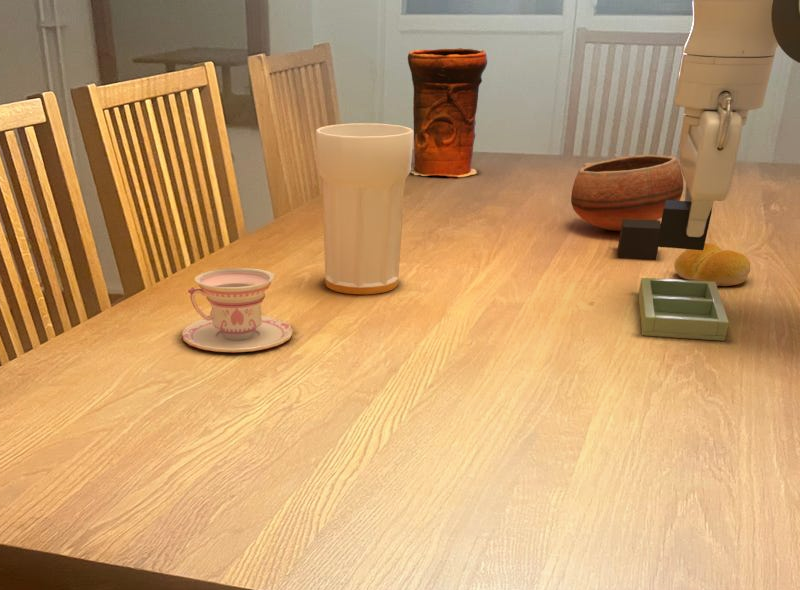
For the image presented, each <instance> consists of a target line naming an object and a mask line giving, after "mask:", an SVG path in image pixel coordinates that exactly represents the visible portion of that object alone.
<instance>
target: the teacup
mask: <svg viewBox="0 0 800 590" xmlns="http://www.w3.org/2000/svg"><path fill="white" fill-rule="evenodd" d="M273 280H275V274H274V273H273V272H271V271H269V270H265V269H261V268H251V267H227V268H220V269H213V270H209V271H205V272H202V273H200V274H198V275H196V276H195V278H194V282H195V283H196V284H197V285H198V287H199V288H195V287H191V288H190V289H188V290H187V292H188V294H190V297H189V298H190V301H191V304H192V306H193V307H194V310H195V311H196V312H197V313H198V314H199V315H200V316H201V318H203V319H200V320H196V321H194V322H193V323H190V324H188V325H187V326H186V327H185V328H184V329H183V330H182V332H181V334H182V335H181V336H182V340H183V341H184V342H185V343H186V344H188V345H189V346H191V347H194V348H197V349H200V350H205V351H211V352H215V353H216V352H217V353H246V352H256V351H261V350H267V349H271V348H274V347H277V346H280V345H282V344H284V343H286V342H287V341H289V340H291V337H292V335H293V334H294V331H293V328H292V326H291V325H290V324H289V323H287V322H286V321H284V320H282V319H278V318H275V317H272V316H267V315H262V304H263V301H264V299H265V298H266V294H265V292H267V290H268V289H269V288H270V286H271V284H272V281H273ZM198 294H199V295H202V296H204V297H206V300H207V301H208V303H209V304H210V307H211V309H210V313H209V315H206V314H205V313H204V312H203V311H202V310H201V309H200V307H199V305H198V304H197V302H196V296H197V295H198Z"/></svg>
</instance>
